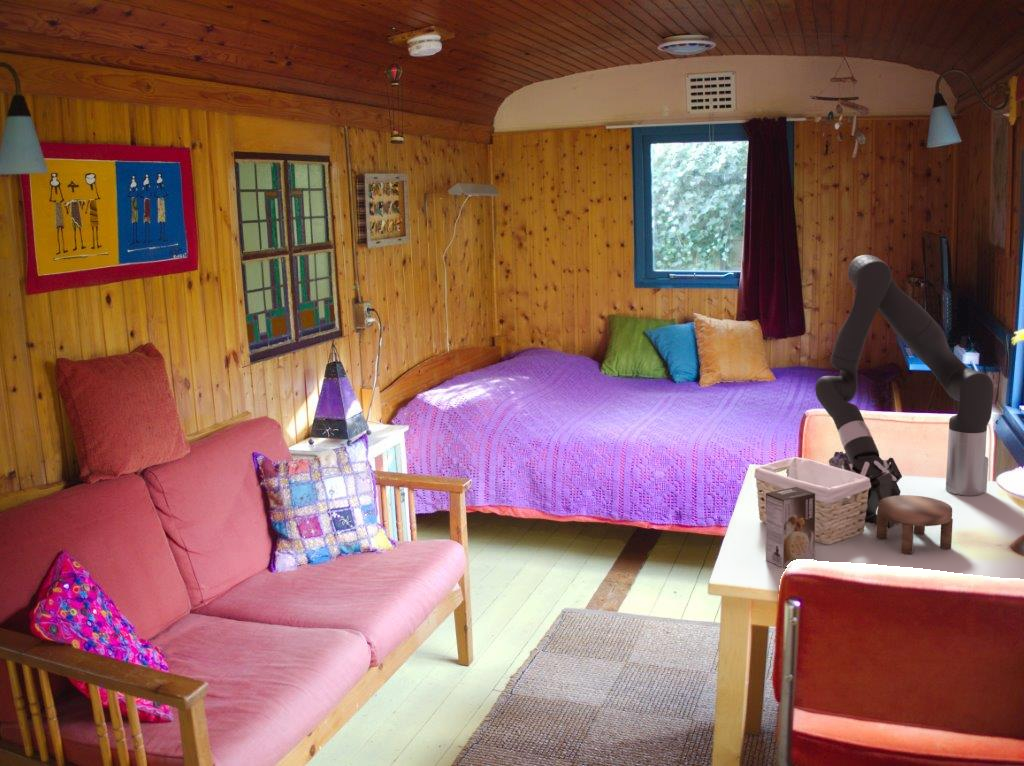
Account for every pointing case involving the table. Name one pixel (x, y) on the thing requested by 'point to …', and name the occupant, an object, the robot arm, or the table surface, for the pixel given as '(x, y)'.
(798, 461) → the storage basket
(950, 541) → the stool
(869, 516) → the phone stand
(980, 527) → the table surface
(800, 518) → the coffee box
